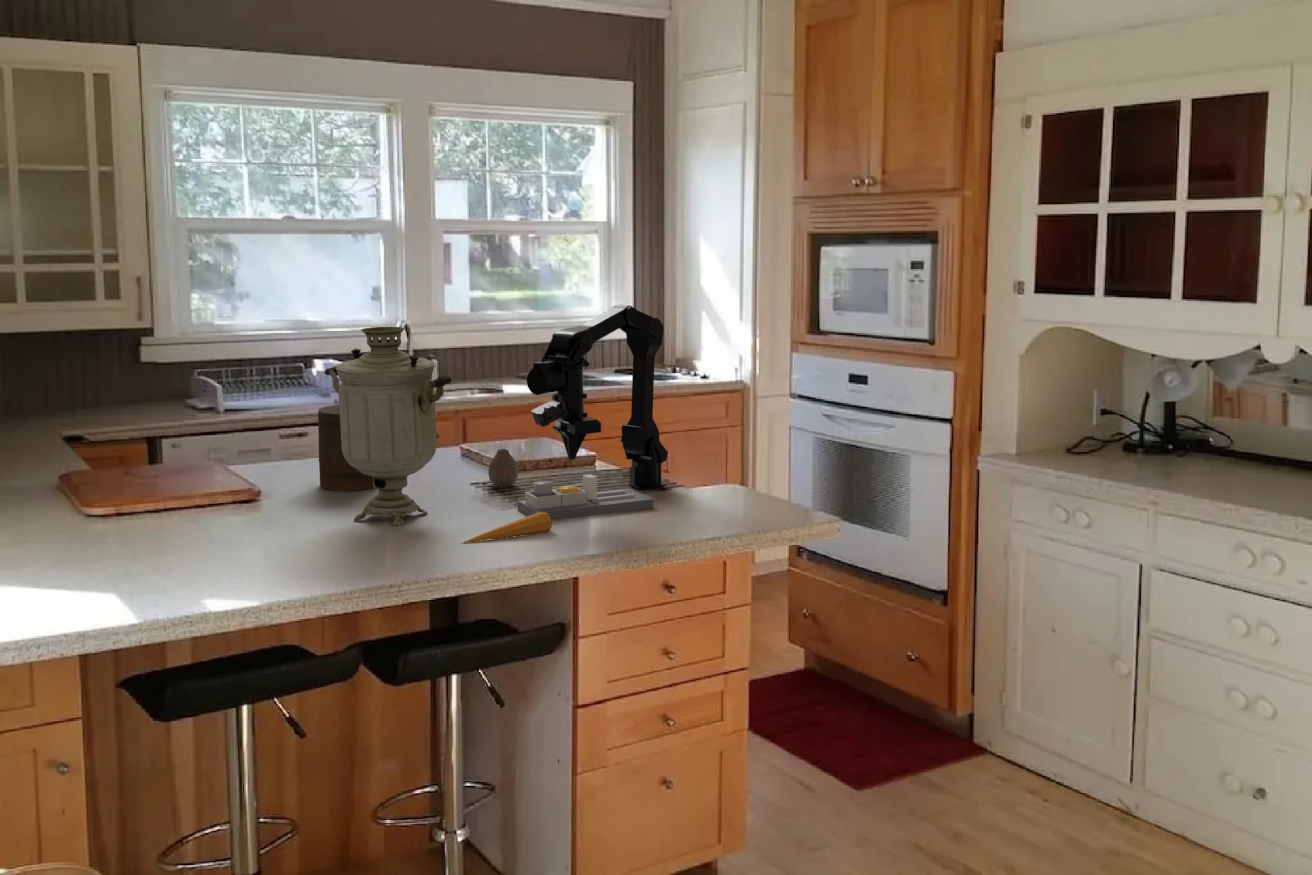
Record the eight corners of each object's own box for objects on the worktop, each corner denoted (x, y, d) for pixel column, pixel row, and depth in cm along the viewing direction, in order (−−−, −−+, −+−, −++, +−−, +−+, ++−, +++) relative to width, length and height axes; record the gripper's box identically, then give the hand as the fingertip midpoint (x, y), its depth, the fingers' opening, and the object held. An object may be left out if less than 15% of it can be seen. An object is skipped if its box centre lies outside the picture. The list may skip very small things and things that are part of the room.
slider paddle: (591, 496, 274) (590, 474, 273) (596, 499, 271) (596, 476, 271) (582, 497, 273) (582, 475, 272) (588, 500, 271) (588, 477, 270)
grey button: (548, 494, 270) (547, 480, 269) (555, 497, 266) (555, 484, 266) (530, 496, 268) (530, 482, 267) (537, 499, 264) (537, 486, 264)
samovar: (496, 516, 265) (492, 328, 258) (393, 540, 247) (385, 337, 239) (412, 494, 285) (406, 318, 278) (310, 514, 267) (301, 326, 259)
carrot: (548, 532, 256) (543, 511, 256) (557, 529, 252) (551, 508, 252) (458, 556, 246) (452, 534, 246) (466, 553, 242) (460, 531, 242)
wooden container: (397, 482, 298) (394, 391, 294) (351, 494, 285) (347, 399, 281) (353, 475, 305) (349, 386, 301) (306, 486, 293) (301, 393, 289)
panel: (629, 496, 284) (629, 477, 283) (653, 508, 273) (653, 487, 272) (517, 509, 271) (517, 489, 271) (538, 521, 261) (538, 500, 260)
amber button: (573, 498, 273) (573, 485, 272) (581, 502, 269) (581, 488, 269) (556, 500, 271) (556, 487, 270) (564, 504, 267) (563, 490, 267)
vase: (521, 483, 297) (520, 447, 295) (514, 490, 290) (514, 452, 289) (492, 482, 298) (491, 446, 296) (485, 489, 291) (484, 452, 289)
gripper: (518, 386, 275) (520, 455, 278) (553, 398, 259) (555, 472, 262) (565, 382, 280) (566, 450, 283) (601, 393, 264) (603, 465, 267)
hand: (571, 459), depth 273 cm, fingers closed
